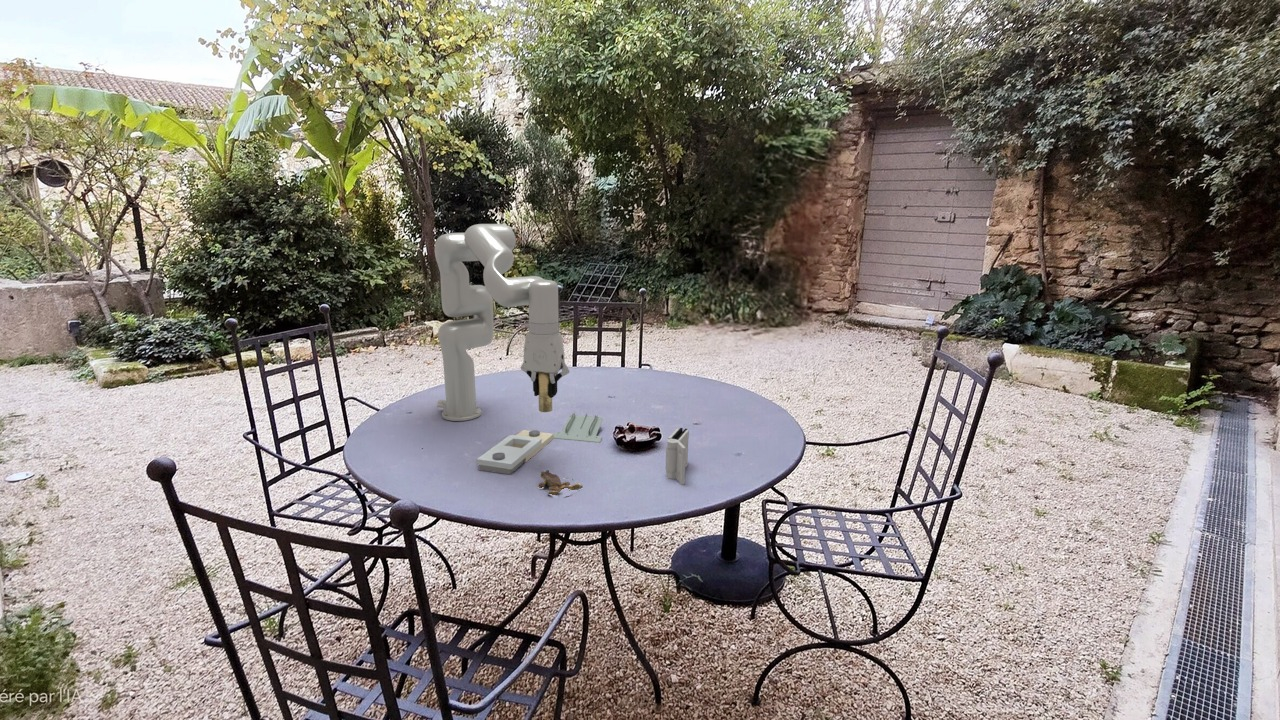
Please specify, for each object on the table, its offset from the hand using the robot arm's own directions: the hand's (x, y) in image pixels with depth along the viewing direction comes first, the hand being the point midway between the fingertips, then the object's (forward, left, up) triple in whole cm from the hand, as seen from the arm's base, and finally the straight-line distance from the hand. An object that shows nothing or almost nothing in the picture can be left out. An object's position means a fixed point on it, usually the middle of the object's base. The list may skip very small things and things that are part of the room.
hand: (545, 394), depth 157 cm
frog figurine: (+9, -15, -19) cm, 26 cm away
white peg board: (-10, +1, -19) cm, 21 cm away
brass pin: (0, 0, -4) cm, 4 cm away
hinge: (+36, +3, -19) cm, 41 cm away
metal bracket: (+2, +21, -19) cm, 29 cm away
